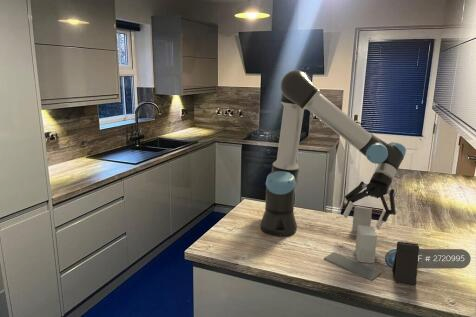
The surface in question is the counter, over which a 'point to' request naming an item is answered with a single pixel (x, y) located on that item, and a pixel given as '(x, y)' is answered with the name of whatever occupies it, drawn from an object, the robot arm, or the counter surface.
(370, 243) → the small box
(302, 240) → the counter surface
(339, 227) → the counter surface
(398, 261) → the phone stand
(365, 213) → the white tea box
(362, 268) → the slate mat
